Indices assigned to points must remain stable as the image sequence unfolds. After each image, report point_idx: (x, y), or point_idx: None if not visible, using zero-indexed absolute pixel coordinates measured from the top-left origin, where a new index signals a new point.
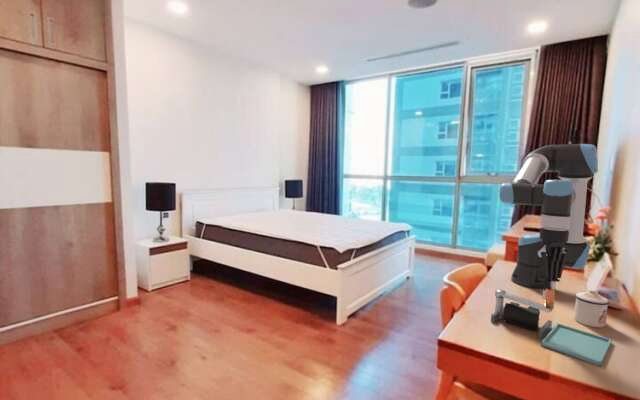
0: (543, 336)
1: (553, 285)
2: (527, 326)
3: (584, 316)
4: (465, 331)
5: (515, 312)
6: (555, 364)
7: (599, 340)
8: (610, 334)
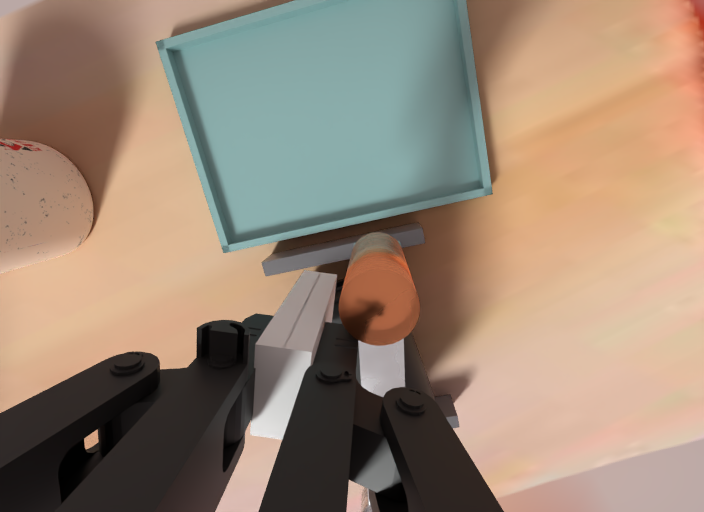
0: (391, 228)
1: (298, 327)
2: None
3: (61, 204)
4: (635, 406)
5: (417, 371)
6: (606, 76)
7: (201, 80)
8: (76, 91)
